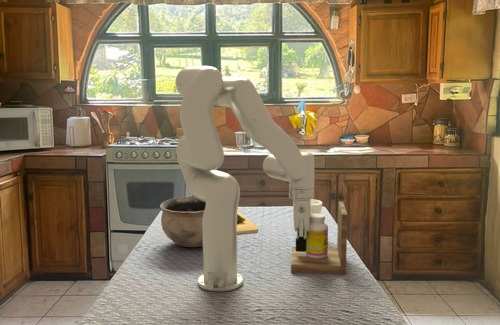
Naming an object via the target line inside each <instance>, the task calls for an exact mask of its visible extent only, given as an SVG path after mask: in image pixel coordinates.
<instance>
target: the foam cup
mask: <svg viewBox="0 0 500 325" xmlns="http://www.w3.org/2000/svg"><path fill="white" fill-rule="evenodd" d="M310 201H311V214H322V210H323V201H321V200H318V199H311V200H310Z"/></svg>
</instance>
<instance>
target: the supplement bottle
mask: <svg viewBox="0 0 500 325" xmlns="http://www.w3.org/2000/svg"><path fill="white" fill-rule="evenodd" d="M325 220H326V215H325V214H323V213H321V214H311V230H310V232H308V231H306V255H307V256H308V257H310V258H315V259H321V258H325V257H326V256H327V254H328V248H329V247H328V246H329V244H328V243H329V226H328V224H327V223H326V222H325Z"/></svg>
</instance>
